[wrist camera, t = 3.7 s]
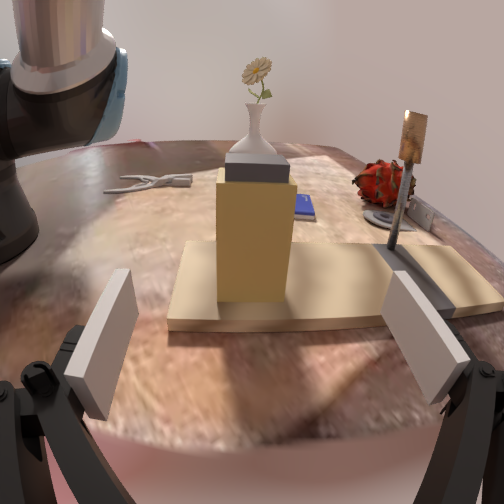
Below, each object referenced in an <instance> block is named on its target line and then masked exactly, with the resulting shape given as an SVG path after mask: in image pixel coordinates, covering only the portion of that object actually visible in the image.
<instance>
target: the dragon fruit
mask: <svg viewBox="0 0 504 504" xmlns="http://www.w3.org/2000/svg"><path fill="white" fill-rule="evenodd" d="M393 161H394V163H393V162H391V164H390V163H386V162H384V161H383V160H380V159H379V160H378V161H377V162H376V163H369V164H367V165H366V167H365V168H364V170H363V171H362V172H361V173H360V174H359V175H358V176H357V177H356V178H355V180H352V185H353V184H354V183H355V184H356V185H357V187H359V188H360V190H359V191H358V195H359V196H362V197H361V199H364V200H367V201H369V202H371V203H377V202H383V208H387V207H389V206H392V207H393V206H396V204H397V199H398V194H399V189H400V184H401V179H402V173H403V168H404V166H403V167H400V166H398V164H397V163H396V161H395V160H393ZM415 181H416V179H415V178H414V177H413V175H412V176H411V182H410V187H409V192H408V196H407V201H411V200H410V199H409V195H414V189H413V188H414V187H415V186H416V185H415ZM411 199H412V198H411ZM388 203H389V204H388Z"/></svg>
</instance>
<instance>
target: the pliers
mask: <svg viewBox="0 0 504 504" xmlns="http://www.w3.org/2000/svg"><path fill="white" fill-rule="evenodd" d="M120 179H140V180H141V181H142V182H146V183H142V184H138V185H135V186H132V187H130V188H124V189H113V190H104V193H124V192H133V191H140V190H145V189H149V188H153V187H158V186H162V185H167V186H190V185H191V181H192V174H173V175H165V176H163V177H161V178H157V177H152V176H140V175H133V176H120ZM148 180H149V181H152V183H151V184H147V183H149V181H148Z"/></svg>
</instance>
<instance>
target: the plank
mask: <svg viewBox="0 0 504 504" xmlns="http://www.w3.org/2000/svg"><path fill="white" fill-rule="evenodd" d="M386 247H387V244H360V243H313V242H291V250H290V258H289V266H288V274H287V282H286V290H285V297H284V302H217V274H216V241H186V243H185V246H184V250H183V254H182V258H181V261H180V265H179V269H178V273H177V277H176V281H175V285H174V289H173V293H172V297H171V301H170V305H169V310H168V314H167V325H168V331H187V332H292V331H318V330H337V329H352V328H366V327H378V326H387V324H386V322H385V320H384V319H383V317H382V315H381V313H380V311H381V308H382V305H383V302H384V299H385V296H386V293H387V290H388V287H389V284H390V281H391V277H392V274H393V271H406V272H407V273H408V275H409V276H410V277H411V278H412V280H413V281H414V282H415V283H416V285H417V286H418V287H419V289H420V290H421V291H422V292H423V294H424V295H425V296H426V298H427V299H428V300H429V302H430V303H431V304H432V306H433V307H434V308H435V310H436V311H437V312H438V314H439V315H440V316H441V318H442V319H451V318H458V317H465V316H471V315H478V314H484V313H490V312H496V311H501V310H502V309H503V307H504V298H503V297H502V296H501V295H500V294H499V293H498V292H497V291H496V290H495V289H494V288H493V287H492V286H491V285H490V284H489V283H488V282H487V281H486V280H485V279H484V278H483V277H482V276H481V275H480V274H479V273H478V272H477V271H476V270H475V269H474V268H473V267H472V266H471V265H470V264H469V263H468V262H467V261H466V260H465V259H464V258H463V257H462V256H461V255H460V254H458V253H457V252H456V251H455V250H454V249H453V248H452V247H451V246H434V245H399V244H396V246H395V250H393V251H392V250H388V249H387V248H386Z"/></svg>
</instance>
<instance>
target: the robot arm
mask: <svg viewBox="0 0 504 504" xmlns="http://www.w3.org/2000/svg"><path fill="white" fill-rule="evenodd" d="M12 1H13V11H14V18H15V26H16V32H17V38H18V44H19V49H20V51H19V53H18V54H17V55H16V57H15V59H14V60H13V63H12V65H11V64H10V61H9V60H7V59H0V264H1V263H3V262H5V261H7V260H9V259H11V258H12V257H14V256H16V255H17V254H19V253H20V252H22V251H23V250H24V249H26V248H27V247H28V246H29V245H30V244H31V243H32V242H33V241H34V240H35V239H36V237H37V235H38V233H39V227H38V222H37V217H36V214H35V212H34V210H33V209H32V208H31V207H30V205H29V202H28V200H27V198H26V196H25V194H24V191H23V189H22V187H21V185H20V183H19V181H18V178H17V173H16V167H15V159H18V158H22V157H26V156H30V155H35V154H40V153H45V152H50V151H56V150H62V149H68V148H74V147H80V146H89V145H90V144H92V143H96V142H102V141H107V140H109V139H111V138H112V137H113V136H115V134H116V133H117V131H118V129H119V127H120V123H121V119H122V114H123V109H124V101H125V94H124V93H125V89H126V84H127V71H128V59H127V53H126V51H125V50H124V49H122V48H117V47H116V43H115V40H114V38H113V36H112V35H111V33H110V32H108V31H107V30H105V29H104V28H102V26H103V13H104V12H103V11H104V0H12ZM380 313H381V315H382V317H383V319H384V320H385V322H386V324H387V326H388V328H389V329H390V331H391V333H392V335H393V337H394V339H395V340H396V342H397V344H398V346H399V348H400V350H401V352H402V353H403V355H404V357H405V359H406V361H407V363H408V365H409V367H410V369H411V371H412V373H413V375H414V377H415V379H416V381H417V383H418V385H419V387H420V389H421V391H422V393H423V395H424V397H425V399H426V401H427V403H428V405H432V404H436V403H439V402H442V401H443V399H444V398H445V397H446V395H447V394H449V396H450V398H451V399H450V400H449V401H448V403H447V404H446V405H445V407H444V408H443V409H442V410H441V412H440V414H442V413H443V412H444V411H445V410H446V411H445V415H444V419H443V422H442V426H441V429H440V432H439V436H438V439H437V442H436V445H435V448H434V451H433V454H432V457H431V460H430V463H429V466H428V468H427V471H426V473H425V476H424V479H423V481H422V484H421V486H420V488H419V491H418V493H417V496H416V498H415V500H414V502H413V504H476V501H477V497H478V494H479V490H480V486H481V482H482V478H483V487H482V504H504V371H496V370H495V369H494V367H493V366H492V365H491V364H489V363H487V362H485V361H478V359H477V358H476V356H475V355H474V353H473V352H472V350H471V349H470V348H469V346H468V345H467V343H466V342H465V341H464V339H463V338H462V336H461V335H460V333H459V332H458V331H457V329H456V328H455V326H454V325H452V324H451V323H450V322H449V321H447V320H443V319H442V318H441V316H440V315H439V314H438V312H437V311H436V310H435V308H434V307H433V306H432V304H431V303H430V302H429V300H428V299H427V298H426V296H425V295H424V294H423V292H422V291H421V290H420V289H419V287H418V286H417V285H416V283H415V282H414V281H413V280H412V278H411V277H410V276H409V275H408V273H407V272H406V271H393V274H392V277H391V281H390V284H389V287H388V290H387V293H386V296H385V299H384V302H383V305H382V308H381V311H380ZM138 315H139V312H138V307H137V302H136V297H135V292H134V287H133V282H132V276H131V270H130V269H115V271H114V273H113V274H112V276H111V278H110V280H109V282H108V284H107V285H106V287H105V289H104V291H103V293H102V295H101V297H100V299H99V301H98V303H97V304H96V306H95V308H94V310H93V312H92V314H91V316H90V318H89V320H88V322H87V324H86V326H81V325H75V326H74V327H73V328H72V329H71V330H70V331H69V332H68V333H67V335H66V337H65V339H64V341H63V343H62V345H61V347H60V350H59V351H58V353H57V355H56V357H55V359H54V361H53V363H52V365H51V366H50V365H49V364H48V363H46V362H44V361H36V362H32V363H31V364H29V365H27V366H26V367H25V369H24V370H23V371H22V374H21V382H22V384H23V385H24V387H25V388H21V389H14V387H13V386H12V384H11V383H10V382H8V381H0V504H57V500H56V497H55V493H54V489H53V484H52V480H51V475H50V470H49V465H48V460H47V454H46V448H45V442H44V436H46V438H47V441H48V443H49V445H50V448H51V450H52V452H53V454H54V457H55V459H56V461H57V463H58V465H59V467H60V470H61V471H62V474H63V475H64V477H65V479H66V481H67V483H68V485H69V487H70V489H71V491H72V492H73V494H74V496H75V498H76V500H77V502H78V503H79V504H136V503H135V501H134V500H133V499H132V497H131V496H130V495H129V493H128V492H127V491H126V489H125V488H124V486H123V485H122V483H121V482H120V481H119V479H118V477H117V476H116V474H115V473H114V471H113V470H112V468H111V467H110V465H109V464H108V462H107V460H106V459H105V457H104V456H103V454H102V452H101V451H100V449H99V447H98V446H97V444H96V442H95V440H94V439H93V437H92V435H91V433H90V431H89V430H88V428H87V426H86V424H85V422H84V421H83V419H82V417H83V414H84V411H85V412H86V413H87V415H88V417H89V418H92V419H97V420H103V421H107V419H108V415H109V411H110V407H111V403H112V400H113V396H114V392H115V389H116V385H117V382H118V378H119V375H120V371H121V368H122V365H123V361H124V358H125V355H126V352H127V348H128V345H129V342H130V339H131V336H132V333H133V330H134V327H135V324H136V321H137V318H138Z"/></svg>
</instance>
